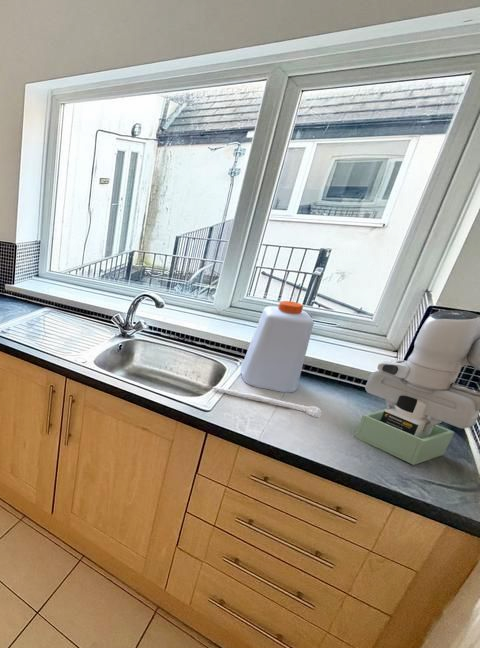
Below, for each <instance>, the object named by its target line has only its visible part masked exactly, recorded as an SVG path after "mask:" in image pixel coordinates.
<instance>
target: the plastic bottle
mask: <svg viewBox="0 0 480 648" xmlns="http://www.w3.org/2000/svg"><path fill="white" fill-rule="evenodd" d="M303 309H304V306H303V304H302V303H299V302H295V301H291V300H290V301H289V300H282V301H280V302H279V304H278V306H275V305H274V306H273V305H270V306H266V307H264V308H263V310H262V313H261V315H260V318H259V320H258V323H257V325H256V328H255V331H254V334H253V336H252V338H251V341H250V343H249V346H248V349H247V351H246V354H245V355H244V359H243V361H242V364H241V366H240V373H241V376H242V380H243V382H244V383H246V384H247V385H249V386H250V387H251V386H252V387H254V388H259V389H264V390H268V391H269V390H270V391H274V392H279V393H286V394H288V393H290V394H291V393H294V392H295V391H296V390H297V389H298V385H299V381H300V377H301V374H302V370H303V367H304V362H305V359H306V354H307V350H308V347H309V343H310V340H311V335H312V332H313V328H314V323H315V322H314V319H313V318H312V317H311V316H310V314H309V313H308V312H306V311H305V310H303Z"/></svg>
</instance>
